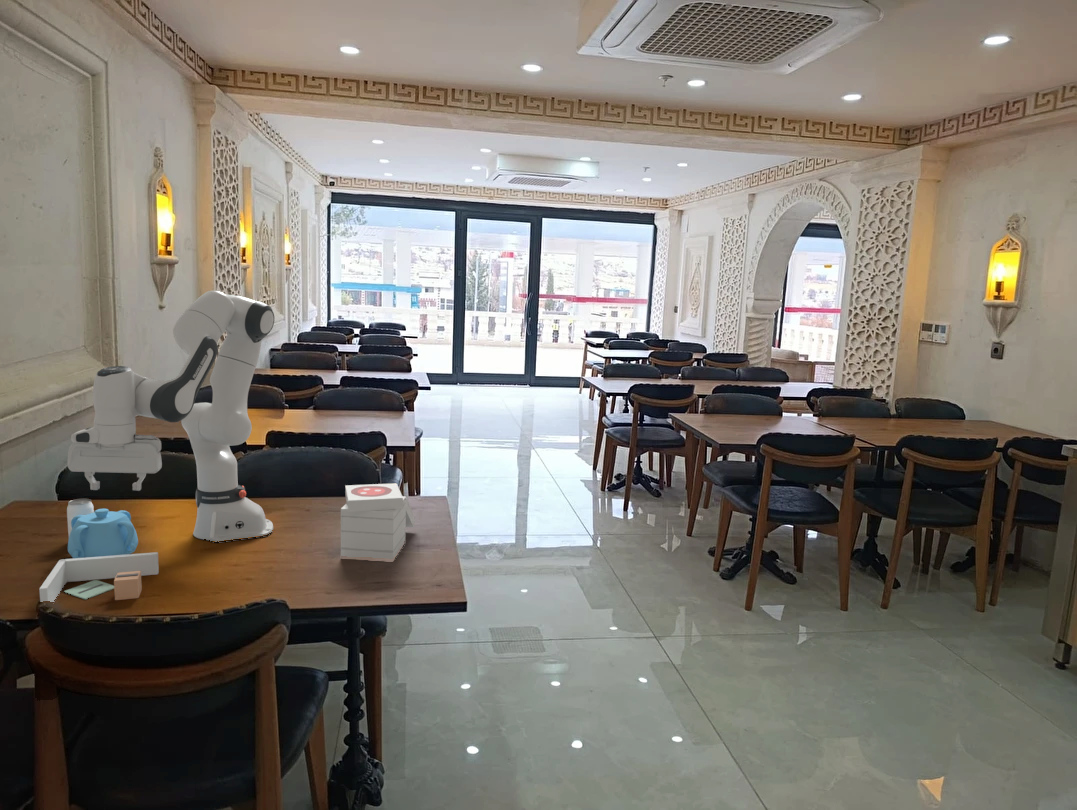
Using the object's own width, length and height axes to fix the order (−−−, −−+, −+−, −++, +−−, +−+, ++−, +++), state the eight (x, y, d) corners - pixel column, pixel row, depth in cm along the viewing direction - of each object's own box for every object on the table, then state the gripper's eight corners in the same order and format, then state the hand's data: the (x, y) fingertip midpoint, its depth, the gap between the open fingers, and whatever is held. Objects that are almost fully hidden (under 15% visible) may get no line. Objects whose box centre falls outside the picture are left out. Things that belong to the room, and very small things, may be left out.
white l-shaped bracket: (158, 572, 194) (157, 552, 193) (148, 601, 177) (147, 579, 176) (61, 580, 186) (59, 559, 185) (41, 611, 169) (39, 588, 169)
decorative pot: (140, 544, 212) (138, 498, 210) (136, 564, 198) (134, 515, 196) (73, 551, 205) (70, 503, 203) (65, 572, 191) (61, 521, 189)
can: (83, 547, 208) (80, 506, 206) (63, 544, 209) (60, 503, 207) (100, 539, 214) (98, 499, 212) (81, 536, 215) (79, 497, 213)
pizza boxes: (420, 529, 234) (421, 474, 231) (397, 566, 205) (398, 503, 202) (361, 526, 235) (361, 471, 232) (329, 561, 206) (329, 499, 202)
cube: (141, 589, 183) (140, 570, 182) (138, 598, 178) (137, 578, 178) (118, 591, 181) (117, 571, 180) (114, 600, 177) (113, 580, 176)
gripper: (165, 433, 183) (166, 487, 185) (75, 430, 180) (77, 485, 182) (156, 438, 177) (157, 494, 179) (63, 435, 174) (65, 492, 176)
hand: (116, 489), depth 181 cm, fingers open, 8 cm apart
